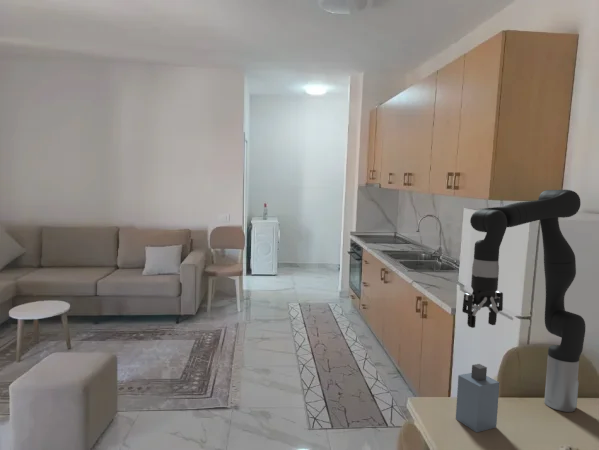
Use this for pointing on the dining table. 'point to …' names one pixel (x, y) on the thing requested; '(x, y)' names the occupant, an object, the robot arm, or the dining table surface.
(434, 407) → the dining table surface
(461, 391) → the cover
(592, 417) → the dining table surface
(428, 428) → the dining table surface
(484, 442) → the dining table surface
